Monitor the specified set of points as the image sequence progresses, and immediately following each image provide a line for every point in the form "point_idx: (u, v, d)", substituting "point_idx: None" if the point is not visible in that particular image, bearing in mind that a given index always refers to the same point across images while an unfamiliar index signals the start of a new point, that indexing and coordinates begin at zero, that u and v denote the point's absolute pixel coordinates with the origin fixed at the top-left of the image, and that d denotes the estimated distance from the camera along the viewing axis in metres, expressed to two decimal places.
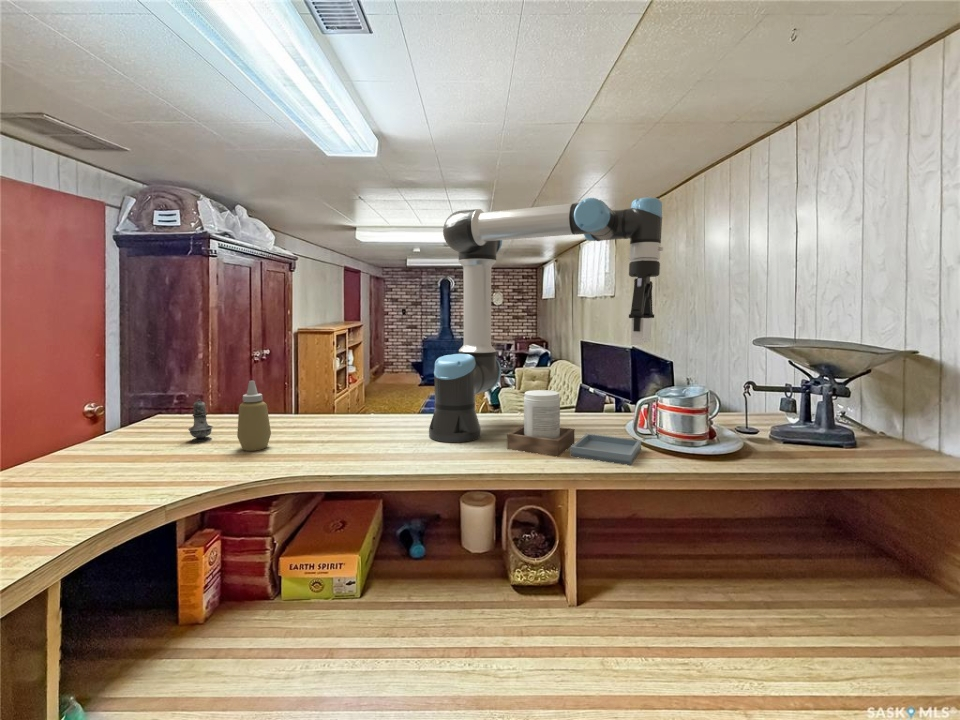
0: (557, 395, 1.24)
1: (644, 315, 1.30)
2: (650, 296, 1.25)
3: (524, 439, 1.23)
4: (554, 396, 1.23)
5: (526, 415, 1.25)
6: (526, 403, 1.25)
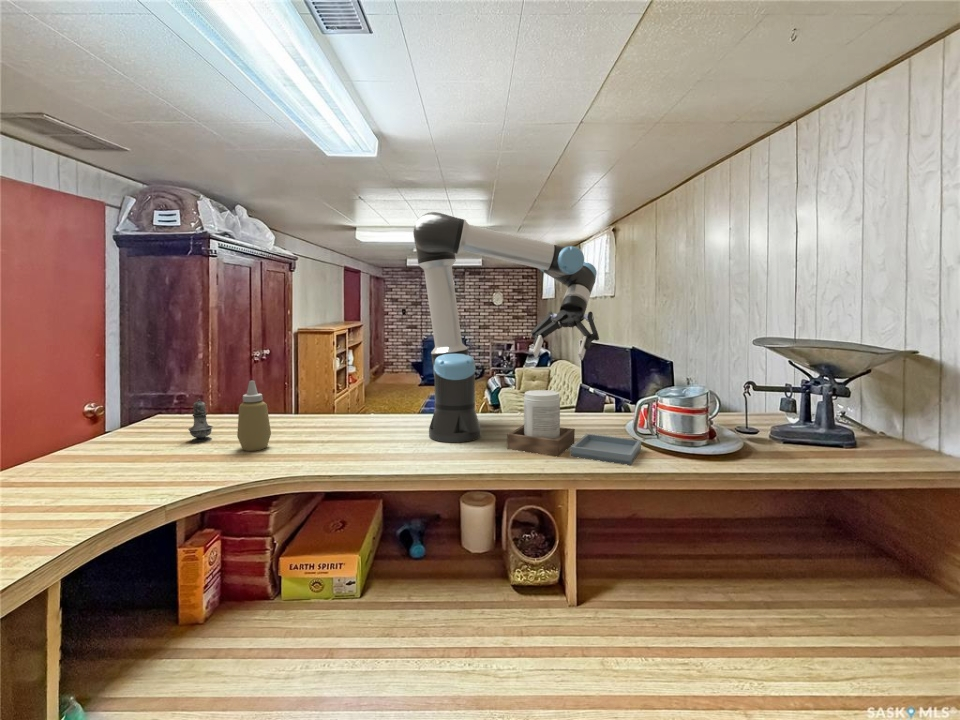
0: (557, 395, 1.24)
1: None
2: (560, 327, 1.44)
3: (524, 439, 1.23)
4: (554, 396, 1.23)
5: (526, 415, 1.25)
6: (526, 403, 1.25)
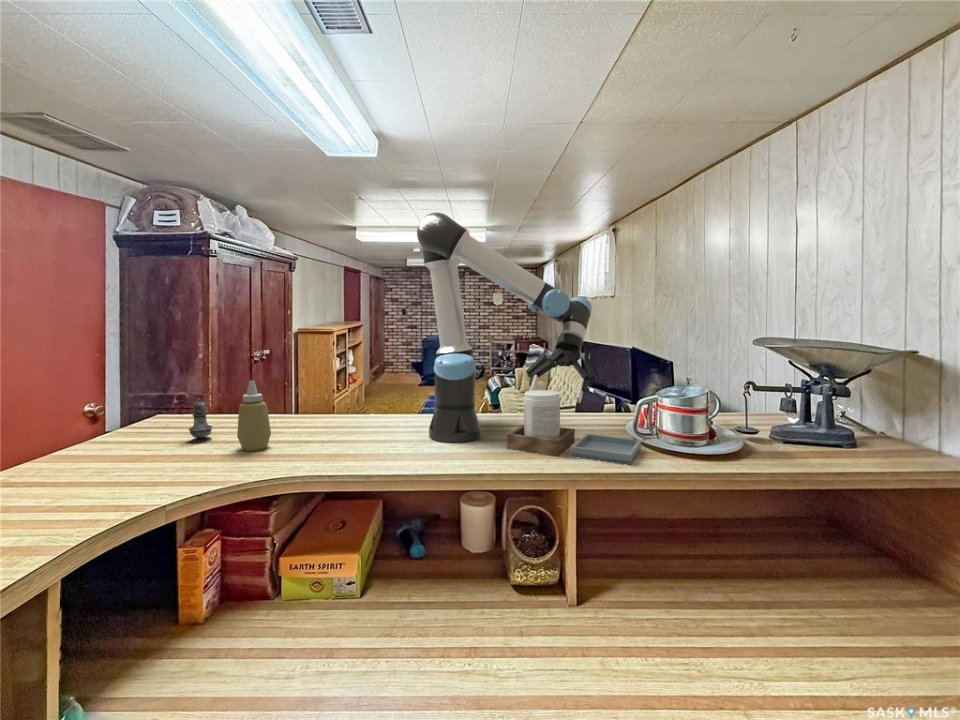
0: (557, 395, 1.24)
1: (535, 374, 1.38)
2: (556, 366, 1.40)
3: (524, 439, 1.23)
4: (554, 396, 1.23)
5: (526, 415, 1.25)
6: (526, 403, 1.25)
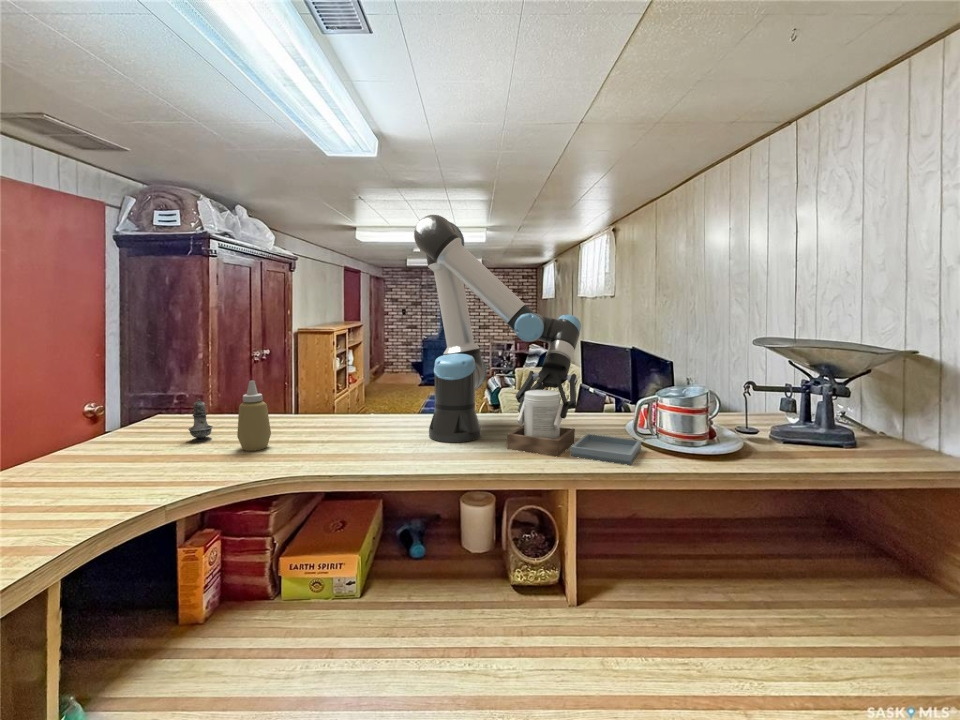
0: (557, 395, 1.24)
1: None
2: (544, 387, 1.34)
3: (524, 439, 1.23)
4: (554, 396, 1.23)
5: (526, 415, 1.25)
6: (526, 403, 1.25)
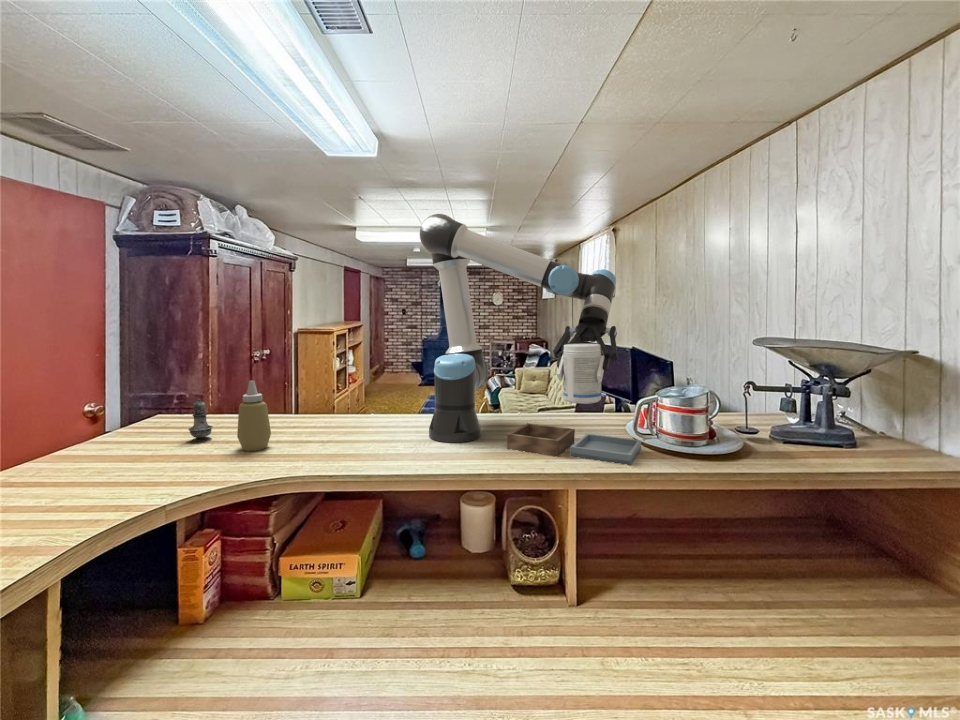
0: (599, 346, 1.20)
1: None
2: (581, 342, 1.29)
3: (524, 439, 1.23)
4: (596, 347, 1.18)
5: (566, 368, 1.21)
6: (566, 355, 1.20)
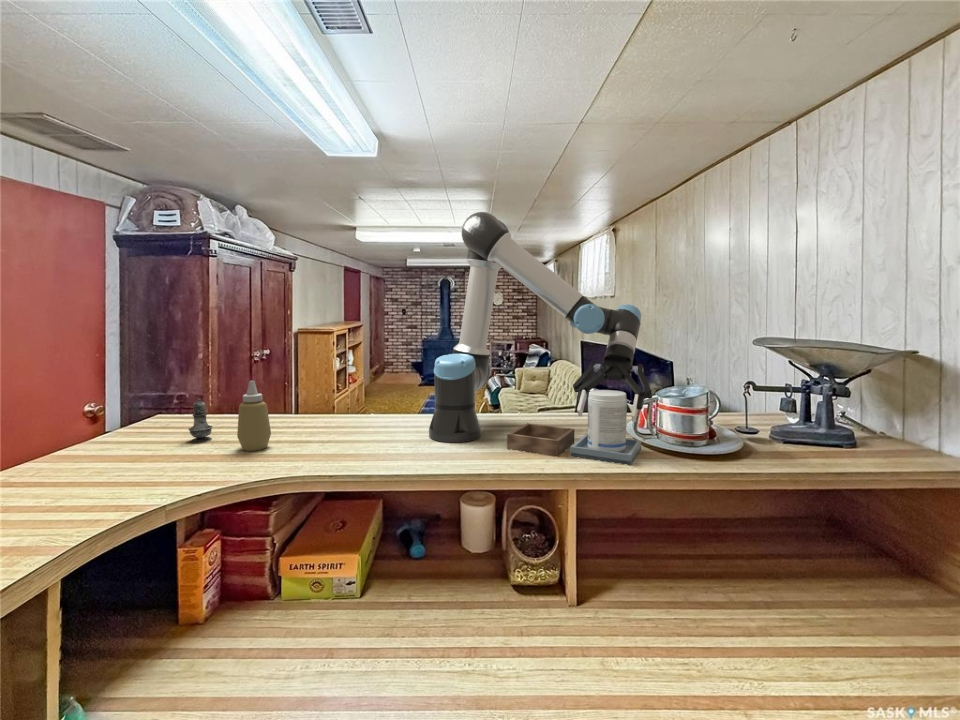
0: (625, 395, 1.18)
1: (583, 389, 1.26)
2: (604, 380, 1.28)
3: (524, 439, 1.23)
4: (622, 396, 1.17)
5: (591, 416, 1.19)
6: (592, 404, 1.19)
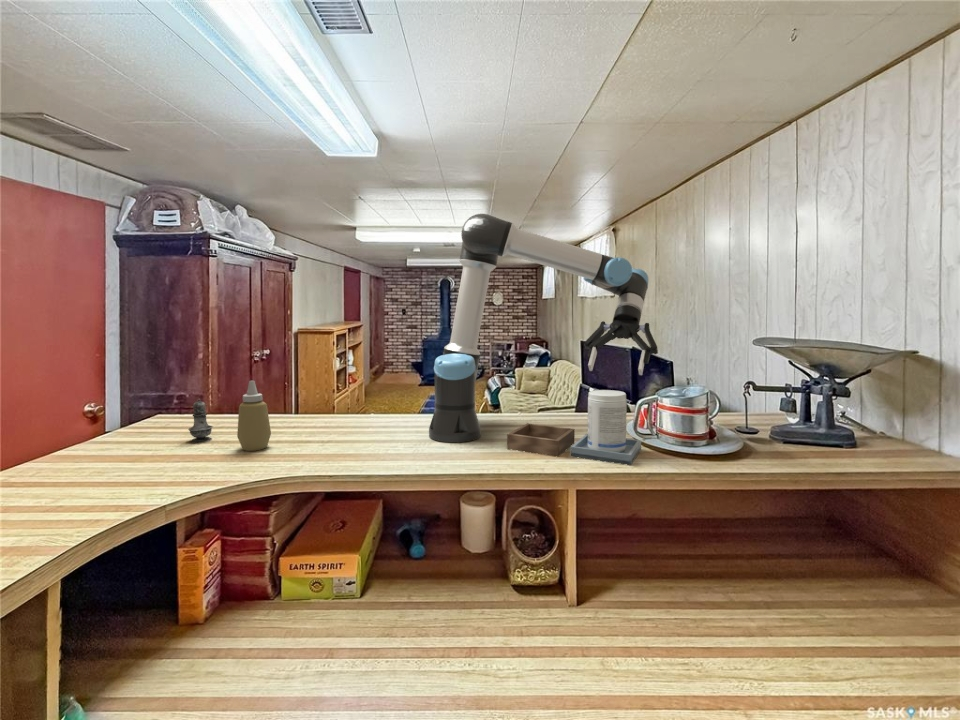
0: (624, 395, 1.18)
1: None
2: (613, 338, 1.39)
3: (524, 439, 1.23)
4: (622, 396, 1.17)
5: (591, 416, 1.19)
6: (591, 404, 1.19)
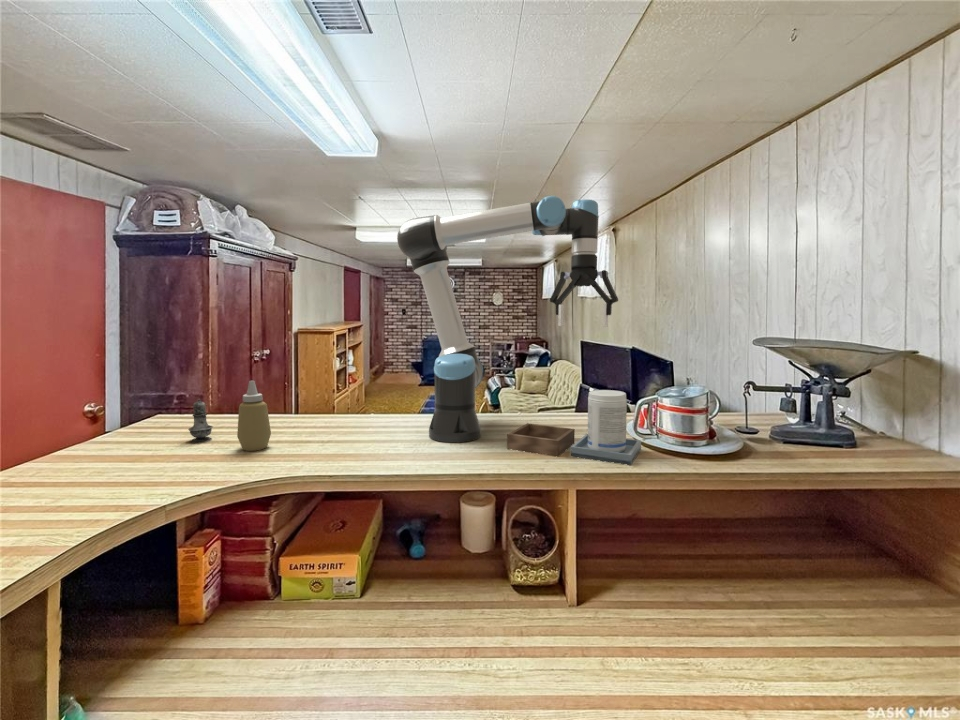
0: (625, 395, 1.18)
1: (559, 302, 1.45)
2: (576, 285, 1.45)
3: (524, 439, 1.23)
4: (622, 396, 1.17)
5: (591, 416, 1.19)
6: (592, 404, 1.19)
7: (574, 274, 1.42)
